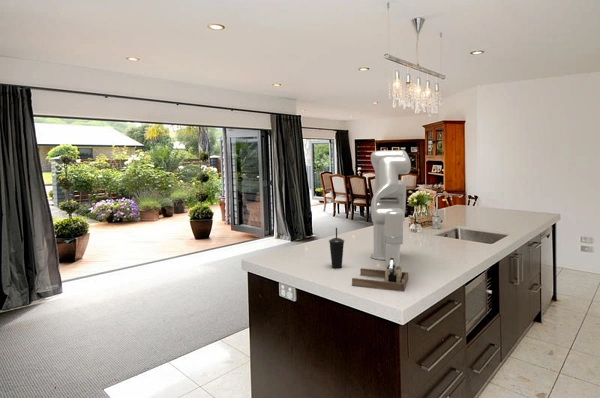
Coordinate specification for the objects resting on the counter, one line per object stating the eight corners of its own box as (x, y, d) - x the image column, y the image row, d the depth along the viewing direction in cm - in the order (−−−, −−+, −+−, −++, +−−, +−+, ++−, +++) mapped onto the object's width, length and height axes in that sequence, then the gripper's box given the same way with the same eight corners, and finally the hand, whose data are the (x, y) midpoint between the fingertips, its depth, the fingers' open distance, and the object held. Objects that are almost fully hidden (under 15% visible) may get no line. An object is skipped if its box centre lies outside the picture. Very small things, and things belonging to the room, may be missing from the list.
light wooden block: (387, 280, 158) (387, 265, 158) (401, 282, 156) (401, 266, 155) (385, 285, 153) (385, 269, 152) (399, 286, 150) (399, 270, 150)
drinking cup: (343, 264, 185) (342, 226, 183) (345, 269, 177) (345, 228, 175) (328, 265, 184) (327, 226, 182) (330, 269, 177) (329, 229, 175)
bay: (361, 274, 168) (360, 268, 168) (408, 279, 160) (408, 272, 160) (352, 285, 153) (352, 278, 153) (403, 291, 145) (403, 284, 145)
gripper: (387, 235, 162) (387, 274, 164) (381, 243, 146) (381, 286, 148) (405, 236, 159) (405, 276, 161) (400, 244, 143) (399, 289, 145)
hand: (393, 281), depth 154 cm, fingers closed on light wooden block, 6 cm apart
